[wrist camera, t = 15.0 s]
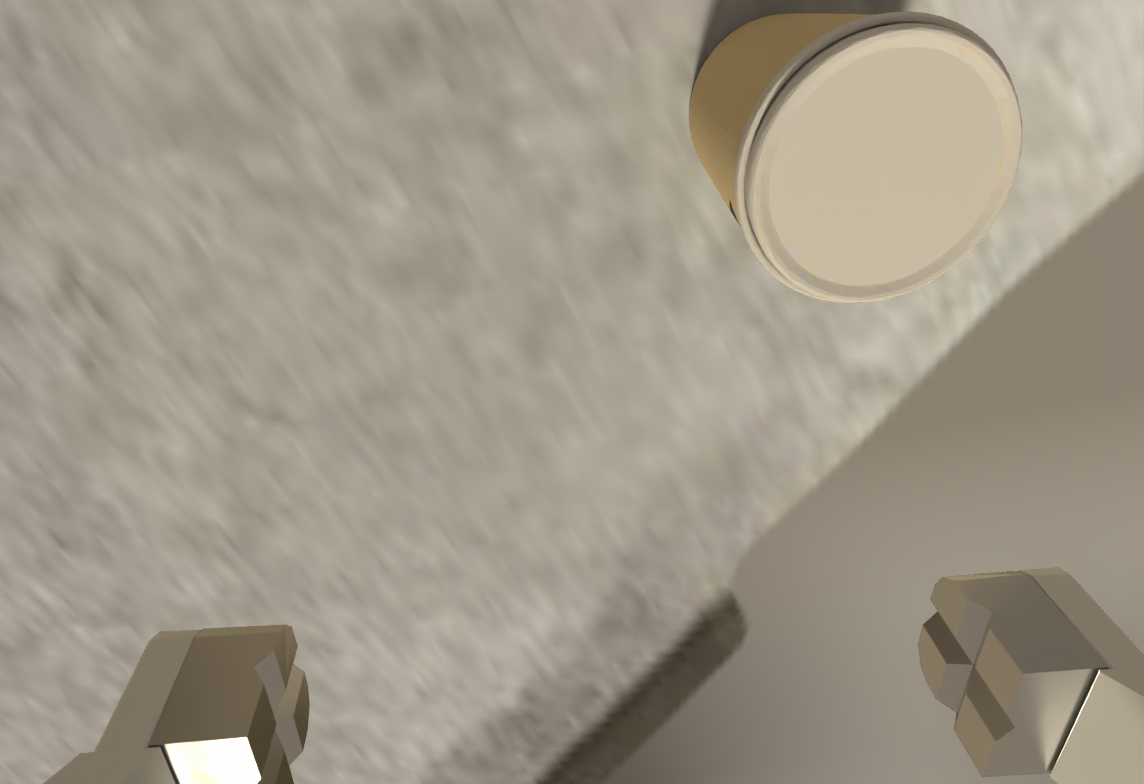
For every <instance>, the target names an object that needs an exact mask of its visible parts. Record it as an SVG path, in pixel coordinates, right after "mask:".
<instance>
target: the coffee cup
mask: <svg viewBox="0 0 1144 784" xmlns="http://www.w3.org/2000/svg"><path fill="white" fill-rule="evenodd" d="M689 126H690V133H691V138H692V141H693V145H694V147H695V150H696V152H697V155H698V157H699V159H700V161H701V163H702V164H703V166H704V168H705V170H706V171H707V173H708V175H709V176H710V178H711V180H712V181H713V183H714V185H715V186H716V188H717V190H718V191H719V193H720V195H721V196H722V198H723V200H724V201H725V203H726V204H727V206H728V208H729V209H730V211H731V212H732V214H733V216H734V217H735V219H736V220H737V222H738V223H739V225H740V227H741V229H742V232H743V234H744V236H745V238H746V240H747V242H748V244H749V246H750V248H751V250H752V251H753V253H754V254H755V256H756V258H757V259H758V260H759V261H760V262H761V264H762V265H763V266H764V267H765V268H766V269H767V270H768V271H769V272H770V273H771V274H772V275H773V276H774V277H776V278H777V279H778V280H780V281H781V282H782V283H784V284H785V285H787V286H788V287H790V288H792V289H794V290H796V291H798V292H800V293H802V294H805V295H807V296H810V297H814V298H817V299H821V300H827V301H833V302H849V303H850V302H867V301H876V300H883V299H888V298H891V297H895V296H899V295H902V294H904V293H907V292H910V291H913V290H915V289H917V288H919V287H921V286H923V285H926V284H927V283H929V282H931V281H932V280H934V279H936V278H938V277H939V276H941V275H942V274H944V273H945V272H946V271H948V270H949V269H951V268H952V267H953V266H954V265H956V264H957V263H958V262H959V261H960V260H962V259H963V258H964V257H965V256H966V255H967V254H968V253H969V252H970V251H971V250H972V249H973V248H974V247H975V246H976V245H977V243H978V242H979V241H980V240H981V239H982V238H983V236H984V235H985V234H986V233H987V231H988V230H989V229H990V227H991V226H992V224H993V223H994V221H995V220H996V218H997V216H998V215H999V213H1000V211H1001V209H1002V208H1003V206H1004V204H1005V202H1006V200H1007V198H1008V195H1009V193H1010V190H1011V188H1012V185H1013V183H1014V179H1015V176H1016V173H1017V170H1018V165H1019V160H1020V155H1021V147H1022V119H1021V112H1020V107H1019V103H1018V98H1017V95H1016V92H1015V89H1014V86H1013V84H1012V81H1011V78H1010V76H1009V73H1008V72H1007V70H1006V68H1005V66H1004V64H1003V62H1002V61H1001V59H1000V58H999V57H998V55H997V54H996V53H995V51H994V50H993V49H992V48H991V47H990V46H989V45H988V44H987V43H986V42H985V41H984V40H983V39H982V38H981V37H979V36H978V35H977V34H975V33H974V32H973V31H971V30H970V29H968V28H966V27H964V26H962V25H960V24H959V23H957V22H954V21H952V20H949V19H946V18H944V17H941V16H936V15H932V14H928V13H919V12H889V13H882V14H876V15H871V14H836V13H789V14H775V15H770V16H766V17H762V18H759V19H756V20H753V21H751V22H748V23H747V24H745V25H743V26H741V27H739V28H738V29H736V30H735V31H733V32H732V33H730V34H729V35H728V36H727V37H726V38H725V39H724V40H722V41H721V42H720V43H719V44H718V46H717V47H716V48H715V49H714V50H713V51H712V53H711V54H710V55H709V57H708V58H707V60H706V61H705V63H704V65H703V66H702V68H701V70H700V72H699V74H698V76H697V79H696V82H695V84H694V88H693V91H692V95H691V101H690V107H689Z"/></svg>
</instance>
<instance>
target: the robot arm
mask: <svg viewBox="0 0 1144 784" xmlns="http://www.w3.org/2000/svg"><path fill="white" fill-rule="evenodd" d="M930 600H931V601H932V603H933V605H934V606H935V607H936V609H937V611H938V612H936V613H935V614H934V615H933V616H932V617H931V618H930V619H929V620H928V621H926V622H925V623H924V624H923V626H922V630H921V634H920V638H919V643H918V647H919V655H920V665H921V668H922V671H923V674H924V676H925V679H926V682H927V684H928V686H929V687H930V689H931V691H932V693H933V694H934V696H935V698H936V699H937V700H939V701H940V702H941V703H943V704H944V705H946V706H947V707H949V708H950V709H952V710H953V711H955V712H956V713H957V714H956V719H955V725H954V731H955V732H956V734H957V736H958V737H959V739H960V741H961V742H962V744H963V746H964V747H965V749H966V751H967V752H968V754H969V756H970V757H971V759H972V761H973V762H974V764H975V766H976V768H977V769H978V771H979V773H980V774H981V776H982V777H993V776H1009V775H1027V774H1042V773H1051V775H1050V777H1051V778H1052V779H1053V780H1054V781H1056V782H1057V783H1058V784H1144V654H1143V653H1142V652H1141V651H1140V650H1139V649H1138V648H1137V647H1136V646H1135V645H1134V643H1133V642H1132V641H1131V640H1130V639H1129V638H1128V637H1127V636H1126V635H1125V634H1124V633H1123V631H1122V630H1121V629H1120V628H1119V627H1118V626H1117V625H1116V624H1115V623H1114V622H1113V621H1112V619H1111V618H1110V617H1109V616H1108V615H1107V614H1106V613H1105V612H1104V611H1103V610H1102V609H1101V607H1100V606H1098V604H1097V603H1096V602H1095V601H1094V600H1093V599H1092V598H1091V597H1090V595H1089V594H1087V592H1086V591H1085V590H1084V589H1083V588H1082V587H1081V586H1080V585H1079V584H1078V583H1077V581H1076V580H1075V579H1074V578H1073V577H1072V576H1071V575H1070V574H1069V573H1067V572H1065V571H1064V570H1062V569H1060V568H1058V567H1055V568H1042V569H1030V570H1020V571H1017V572H1015V571H1006V572H995V573H982V574H970V575H958V576H947V577H942V578H941V579H940V580H939V581H938V582H937V583H936V584H935V586H934V589H933V592H932V596H931V599H930ZM297 647H298V646H297V643H296V639H295V636H294V633H293V630H292V627H291V626H288V625H268V626H248V627H227V628H206V629H202V630H181V631H160V632H159V633H158V634H157V635H156V636H154V637H153V638H152V639H151V640H150V641H149V642H148V644H147V646H146V648H145V650H144V652H143V654H142V656H141V658H140V660H139V662H138V664H137V667H136V669H135V671H134V673H133V675H132V677H131V679H130V681H129V683H128V685H127V687H126V689H125V691H124V693H123V695H122V697H121V699H120V701H119V703H118V705H117V707H116V709H115V711H114V713H113V715H112V717H111V719H110V721H109V723H108V725H107V727H106V729H105V731H104V733H103V735H102V737H101V739H100V741H99V743H98V745H97V747H96V749H95V751H94V752H89V753H80V754H79V755H78V756H77V757H75V758H74V759H73V760H72V761H70V762H69V763H68V764H67V765H66V766H64V767H63V768H62V769H61V770H59V771H58V772H57V773H56V774H55V775H53V776H52V777H51V778H50V779H48V780H47V781H46V782H45V783H44V784H294V781H293V778H292V774H291V771H290V767H289V765H290V764H291V763H292V762H293V761H294V760H295V759H296V758H297V757H298V756H299V755H300V754H301V753H302V752H303V749H304V744H305V739H306V735H307V730H308V718H309V693H308V685H307V681H306V677H305V672H304V671H303V670H301V669H300V668H298V667H297V666H296V665H294V664H293V662H294V658H295V654H296V650H297Z"/></svg>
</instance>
